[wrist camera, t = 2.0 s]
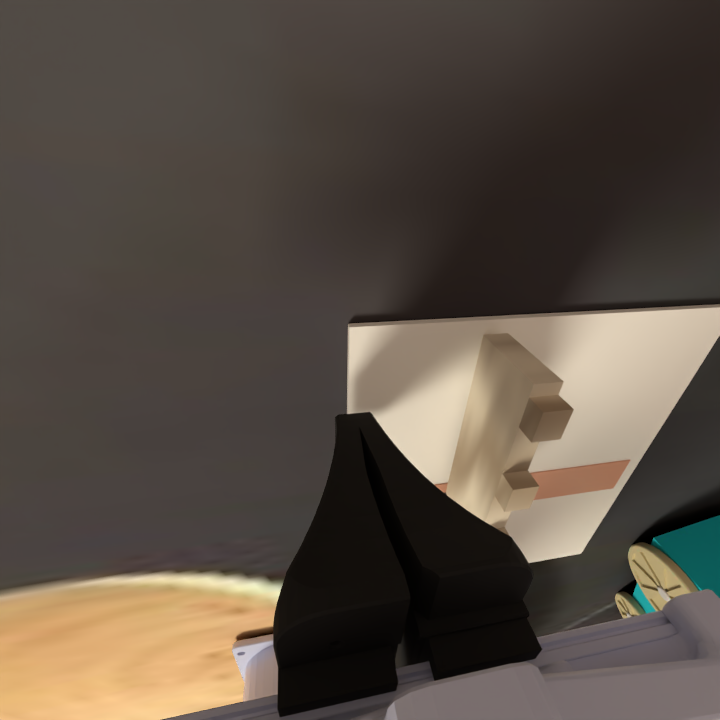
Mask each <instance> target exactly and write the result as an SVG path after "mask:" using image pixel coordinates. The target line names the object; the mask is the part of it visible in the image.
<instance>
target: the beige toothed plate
mask: <svg viewBox="0 0 720 720" xmlns="http://www.w3.org/2000/svg"><path fill="white" fill-rule="evenodd" d="M563 382H564V381H563V380H561V379H560V378H559V377H558V376H557V375H556V374H555V373H553V372H552V371H551V370H550V369H549V368H548V367H546V366H545V365H544V364H543V363H542V362H541V361H540V360H538V359H537V358H536V357H535V356H534V355H533V354H531V353H530V352H529V351H528V350H527V349H526V348H525V347H523V346H522V345H521V344H520V343H519V342H518V341H517V340H515V339H514V338H513V337H512V336H511V335H510V334H508V333H501V334H485V335H483V338H482V343H481V347H480V351H479V355H478V359H477V364H476V368H475V372H474V376H473V380H472V384H471V389H470V393H469V397H468V401H467V405H466V410H465V414H464V418H463V422H462V426H461V431H460V435H459V439H458V443H457V447H456V451H455V456H454V460H453V464H452V468H451V472H450V477H449V481H448V485H447V489H446V494H447V496H448V497H450V498H451V499H453V500H454V501H455V502H457V503H458V504H459V505H461V506H462V507H463V508H465V509H466V510H467V511H469V512H470V513H472V514H474V515H475V516H477V517H478V518H480V519H481V520H483V521H484V522H486V523H488V524H490V525H491V526H493V527H495V528H497V529H498V530H500V531H502V532H504V533H505V534H507V535H509V534H508V532H507V530H506V529H505V525H506V523H507V521H508V518H509V516H510V513H511V511H516V510H522V509H529V508H530V507H531V504H532V502H533V500H534V498H535V495H536V493H537V491H538V489H539V485H538V484H537V482H536V481H535V479H534V478H533V477H532V475H531V474H530V473H529V471H528V469H529V466H530V464H531V461H532V459H533V456H534V454H535V451H536V449H537V447H538V444H539V442H542V441H551V440H559V439H561V437H562V435H563V433H564V430H565V428H566V426H567V424H568V422H569V419H570V417H571V415H572V413H573V410H574V409H573V408H572V407H571V406H570V405H569V404H568V403H567V402H566V401H565V400H563V399H562V398H561V397H560V396H559V392H560V390H561V387H562V385H563Z"/></svg>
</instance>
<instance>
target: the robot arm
mask: <svg viewBox="0 0 720 720" xmlns="http://www.w3.org/2000/svg"><path fill="white" fill-rule="evenodd" d="M335 441H336V443H335V449H334V455H333V460H332V464H331V468H330V472H329V476H328V480H327V483H326V486H325V489H324V492H323V495H322V498H321V501H320V504H319V506H318V509H317V511H316V514H315V516H314V519H313V521H312V523H311V526H310V528H309V530H308V532H307V534H306V536H305V538H304V541H303V543H302V545H301V547H300V549H299V550H298V552H297V554H296V556H295V558H294V560H293V561H292V563H291V565H290V567H289V569H288V571H287V573H286V576H285V579H284V583H283V586H282V589H281V592H280V595H279V599H278V602H277V606H276V611H275V616H274V625H273V634H270V635H265V636H260V637H255V638H249V639H244V640H239V641H236V642H235V643H234V644H233V648H232V652H233V655H234V657H235V660H236V662H237V665H238V668H239V670H240V673H241V675H242V678H243V680H244V695H243V702H240V703H235V704H231V705H226V706H222V707H217V708H212V709H208V710H203V711H199V712H194V713H190V714H185V715H180V716H176V717H171V718H167V719H162V720H720V598H719V597H718V596H717V595H716V594H715V593H714V592H713V591H712V590H709V589H706V590H701V591H696V592H692V593H687V594H682V595H679V596H676V597H674V598H672V599H671V600H670V601H668V602H667V603H666V604H665V605H664V607H663V608H662V610H660V611H656V612H651V613H647V614H642V615H638V616H633V617H628V618H624V619H619V620H615V621H610V622H606V623H601V624H596V625H592V626H587V627H583V628H578V629H574V630H569V631H564V632H560V633H555V634H551V635H546V636H542V637H537V638H536V636H535V634H534V632H533V630H532V628H531V626H530V624H529V622H528V620H527V617H528V616H529V612H528V610H527V608H526V606H525V604H524V602H523V600H522V599H523V597H524V596H525V594H526V592H527V590H528V588H529V587H530V585H531V582H532V579H533V570H532V568H531V566H530V565H529V563H528V561H527V559H526V558H525V556H524V554H523V553H522V551H521V550H520V548H519V547H518V546H517V544H516V543H515V542H514V540H513V539H512V537H511V536H509V535H507V534H505V533H504V532H502V531H500V530H498V529H497V528H495V527H493V526H491V525H490V524H488V523H486V522H484V521H483V520H481V519H480V518H478V517H477V516H475V515H474V514H472V513H470V512H469V511H467V510H466V509H465V508H463V507H462V506H461V505H459V504H458V503H457V502H455V501H454V500H453V499H451V498H450V497H448V496H447V495H446V494H445V493H443V492H442V491H441V490H440V489H439V488H437V487H436V486H435V485H434V484H433V483H432V482H431V481H429V480H428V479H427V478H426V477H425V476H424V475H423V474H422V473H421V472H420V471H419V470H418V469H417V468H416V467H415V466H414V465H413V464H412V463H411V462H410V461H409V460H408V459H407V458H406V457H405V456H404V454H403V453H402V452H401V451H400V450H399V449H398V448H397V446H396V445H395V444H394V443H393V442H392V440H391V439H390V438H389V437H388V435H387V434H386V433H385V431H384V430H383V429H382V427H381V426H380V425H379V423H378V422H377V420H376V419H375V417H374V416H373V414H372V413H371V412H363V413H352V414H341V415H338V416H336V417H335ZM394 662H396V668H395V663H394Z"/></svg>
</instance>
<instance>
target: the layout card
mask: <svg viewBox="0 0 720 720" xmlns="http://www.w3.org/2000/svg"><path fill="white" fill-rule="evenodd" d="M501 333H508V334H510V335H511V336H512V337H513V338H514V339H515V340H517V341H518V342H519V343H520V344H521V345H522V346H523V347H525V348H526V349H527V350H528V351H529V352H530V353H531V354H533V355H534V356H535V357H536V358H537V359H538V360H540V361H541V362H542V363H543V364H544V365H545V366H546V367H548V368H549V369H550V370H551V371H552V372H553V373H555V374H556V375H557V376H558V377H559V378H560V379H561V380H563V381H564V382H563V385H562V387H561V390H560V392H559V396H560V397H561V398H562V399H563V400H565V401H566V402H567V403H568V404H569V405H570V406H571V407H572V408H573V409H574V410H573V413H572V415H571V417H570V419H569V422H568V424H567V426H566V428H565V430H564V433H563V435H562V437H561V439H559V440H551V441H542V442H539V444H538V447H537V449H536V451H535V454H534V456H533V459H532V461H531V464H530V466H529V469H528V471H529V473H530V474H531V475H532V477H533V478H534V479H535V481H536V482H537V484H538V485H539V489H538V491H537V493H536V495H535V498H534V500H533V502H532V504H531V507H530V508H529V509H522V510H516V511H511V513H510V516H509V518H508V521H507V523H506V525H505V529H506V530H507V532H508V534H509V536H511V537H512V539H513V540H514V542H515V543H516V544H517V546H518V547H519V548H520V550H521V551H522V553H523V554H524V556H525V558H526V559H527V561H528V563H531V562H537V561H542V560H548V559H553V558H559V557H565V556H570V555H576V554H581V553H582V551H583V550H584V548H585V546H586V545H587V543H588V542H589V540H590V539H591V537H592V535H593V534H594V532H595V531H596V529H597V528H598V526H599V524H600V523H601V521H602V520H603V518H604V517H605V515H606V513H607V512H608V510H609V509H610V507H611V506H612V504H613V502H614V501H615V499H616V498H617V496H618V495H619V493H620V491H621V490H622V488H623V487H624V485H625V483H626V482H627V480H628V479H629V477H630V476H631V474H632V472H633V471H634V469H635V468H636V466H637V465H638V463H639V461H640V460H641V458H642V457H643V455H644V454H645V452H646V450H647V449H648V447H649V446H650V444H651V443H652V441H653V439H654V438H655V436H656V435H657V433H658V432H659V430H660V428H661V427H662V425H663V424H664V422H665V421H666V419H667V417H668V416H669V414H670V413H671V411H672V410H673V408H674V406H675V405H676V403H677V402H678V400H679V399H680V397H681V395H682V394H683V392H684V391H685V389H686V388H687V386H688V384H689V383H690V381H691V380H692V378H693V377H694V375H695V373H696V372H697V370H698V369H699V367H700V366H701V364H702V362H703V361H704V359H705V358H706V356H707V355H708V353H709V351H710V350H711V348H712V347H713V345H714V344H715V342H716V340H717V339H718V337H719V336H720V304H715V305H695V306H676V307H657V308H638V309H619V310H600V311H580V312H561V313H542V314H523V315H504V316H485V317H466V318H446V319H427V320H408V321H389V322H370V323H351V324H348V368H347V414H352V413H363V412H371V413H372V414H373V416H374V417H375V419H376V420H377V422H378V423H379V425H380V426H381V427H382V429H383V430H384V431H385V433H386V434H387V435H388V437H389V438H390V439H391V440H392V442H393V443H394V444H395V445H396V446H397V448H398V449H399V450H400V451H401V452H402V453H403V454H404V456H405V457H406V458H407V459H408V460H409V461H410V462H411V463H412V464H413V465H414V466H415V467H416V468H417V469H418V470H419V471H420V472H421V473H422V474H423V475H424V476H425V477H426V478H427V479H428V480H429V481H431V482H432V483H433V484H434V485H435V486H436V487H437V488H439V489H440V490H441V491H442V492H443V493H445V492H446V489H447V485H448V481H449V477H450V472H451V468H452V464H453V460H454V456H455V451H456V447H457V443H458V439H459V435H460V431H461V426H462V422H463V418H464V414H465V410H466V405H467V401H468V397H469V393H470V389H471V384H472V380H473V376H474V372H475V368H476V364H477V359H478V355H479V351H480V347H481V343H482V338H483V335H485V334H501Z"/></svg>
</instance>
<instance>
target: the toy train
mask: <svg viewBox="0 0 720 720" xmlns="http://www.w3.org/2000/svg"><path fill="white" fill-rule="evenodd" d="M628 559H629V564H630V567H631V570H632V572H633V575H634V577H635V579H636V581H637V585H636V588H635V590H634V593H633V596H631V595H629V594H628V593H626V592H624V591H621V592H618V593H617V594H616V596H615V600H616V604H617V607H618V609H619V611H620V613H621V615H622V617H623V618H628V617H633V616H638V615H642V614H647V613H651V612H656V611H660V610H662V608H663V607H664V605H665V604H666V603H667V602H668V601H670V600H671V599H672V598H674V597H676V596H679V595H682V594H687V593H692V592H696V591H701V590H706V589H709V590H712V591H713V592H714V593H715V594H716V595H717V596H718V597H719V598H720V515H718V516H716V517H713V518H710V519H707V520H704V521H701V522H698V523H695V524H692V525H689V526H686V527H683V528H680V529H677V530H674V531H671V532H668V533H665V534H662V535H660V536H657V537H654V538H653V540H652V543H651V545H650V544H647V543H643V542H639V543H636V544H633V545H632V546H631V547H630V549H629V553H628Z"/></svg>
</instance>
